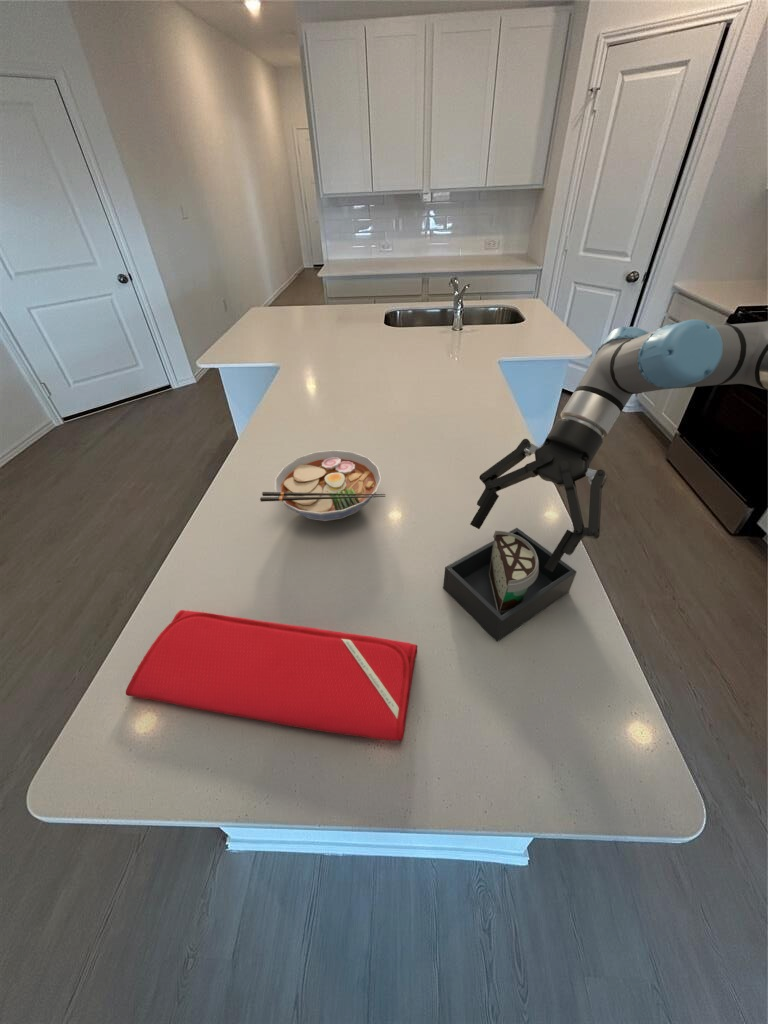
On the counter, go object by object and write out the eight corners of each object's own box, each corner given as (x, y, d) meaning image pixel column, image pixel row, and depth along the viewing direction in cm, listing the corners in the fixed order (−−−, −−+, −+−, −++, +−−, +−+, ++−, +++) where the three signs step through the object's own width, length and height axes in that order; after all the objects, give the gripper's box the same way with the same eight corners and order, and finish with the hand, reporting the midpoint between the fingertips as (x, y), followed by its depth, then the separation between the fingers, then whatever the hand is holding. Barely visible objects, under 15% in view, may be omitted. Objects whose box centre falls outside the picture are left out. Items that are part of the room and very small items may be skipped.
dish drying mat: (184, 613, 77) (177, 599, 74) (417, 648, 70) (418, 635, 68) (128, 699, 65) (117, 687, 62) (402, 752, 58) (402, 740, 56)
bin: (568, 592, 78) (577, 571, 74) (496, 641, 71) (502, 621, 67) (512, 548, 87) (516, 527, 83) (442, 588, 79) (444, 566, 76)
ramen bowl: (388, 475, 107) (387, 446, 101) (385, 540, 89) (384, 510, 84) (286, 475, 108) (280, 446, 102) (264, 540, 90) (255, 510, 85)
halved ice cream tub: (537, 623, 73) (550, 583, 66) (500, 623, 73) (509, 583, 66) (520, 567, 82) (530, 528, 75) (487, 567, 82) (494, 528, 76)
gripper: (666, 467, 63) (588, 592, 65) (517, 412, 77) (456, 516, 79) (666, 450, 57) (579, 589, 59) (504, 393, 71) (439, 506, 73)
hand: (509, 547), depth 69 cm, fingers open, 13 cm apart
